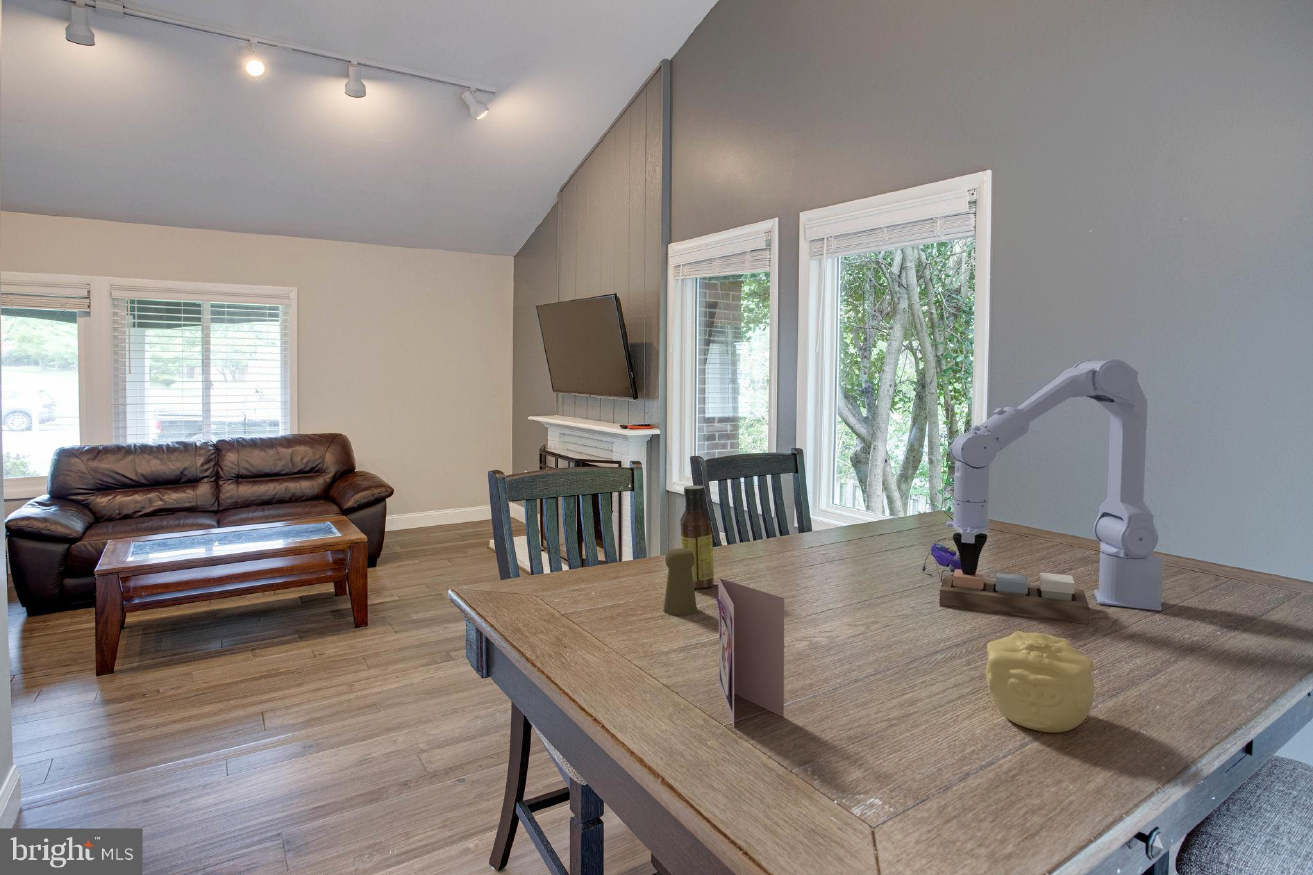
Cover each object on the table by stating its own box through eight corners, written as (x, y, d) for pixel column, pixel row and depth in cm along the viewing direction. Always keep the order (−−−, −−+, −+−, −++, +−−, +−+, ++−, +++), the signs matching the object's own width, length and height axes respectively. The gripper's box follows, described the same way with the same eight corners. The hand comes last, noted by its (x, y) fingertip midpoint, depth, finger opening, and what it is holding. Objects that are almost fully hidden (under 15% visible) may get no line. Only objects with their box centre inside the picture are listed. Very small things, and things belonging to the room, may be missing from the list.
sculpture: (977, 727, 86) (979, 639, 85) (994, 690, 96) (996, 610, 95) (1089, 754, 80) (1093, 659, 79) (1095, 711, 89) (1099, 627, 88)
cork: (694, 616, 126) (694, 554, 125) (660, 614, 127) (659, 553, 126) (699, 605, 132) (699, 546, 131) (666, 603, 133) (666, 544, 132)
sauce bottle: (714, 581, 147) (713, 484, 145) (713, 590, 141) (713, 489, 139) (682, 580, 147) (681, 484, 146) (680, 589, 141) (679, 489, 139)
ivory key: (1071, 594, 127) (1072, 575, 127) (1073, 602, 123) (1074, 583, 122) (1039, 591, 129) (1040, 572, 129) (1040, 599, 125) (1041, 579, 124)
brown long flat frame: (1082, 606, 129) (1083, 589, 128) (1088, 624, 120) (1088, 606, 119) (944, 590, 139) (944, 575, 138) (939, 605, 130) (939, 589, 129)
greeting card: (712, 686, 98) (712, 578, 96) (767, 684, 98) (767, 576, 97) (726, 727, 86) (726, 605, 85) (788, 725, 87) (788, 603, 86)
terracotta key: (983, 590, 133) (984, 572, 133) (982, 597, 129) (983, 579, 128) (954, 586, 135) (955, 569, 135) (952, 594, 131) (953, 575, 131)
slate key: (1026, 594, 130) (1027, 576, 130) (1027, 602, 126) (1027, 583, 125) (995, 591, 132) (996, 573, 132) (995, 599, 128) (995, 580, 128)
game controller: (990, 560, 146) (953, 556, 142) (973, 595, 149) (937, 591, 145) (957, 536, 155) (921, 531, 151) (942, 569, 157) (906, 565, 153)
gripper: (950, 492, 139) (948, 561, 140) (943, 505, 126) (942, 581, 127) (990, 494, 136) (988, 565, 137) (988, 508, 123) (986, 586, 124)
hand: (969, 573), depth 132 cm, fingers closed
